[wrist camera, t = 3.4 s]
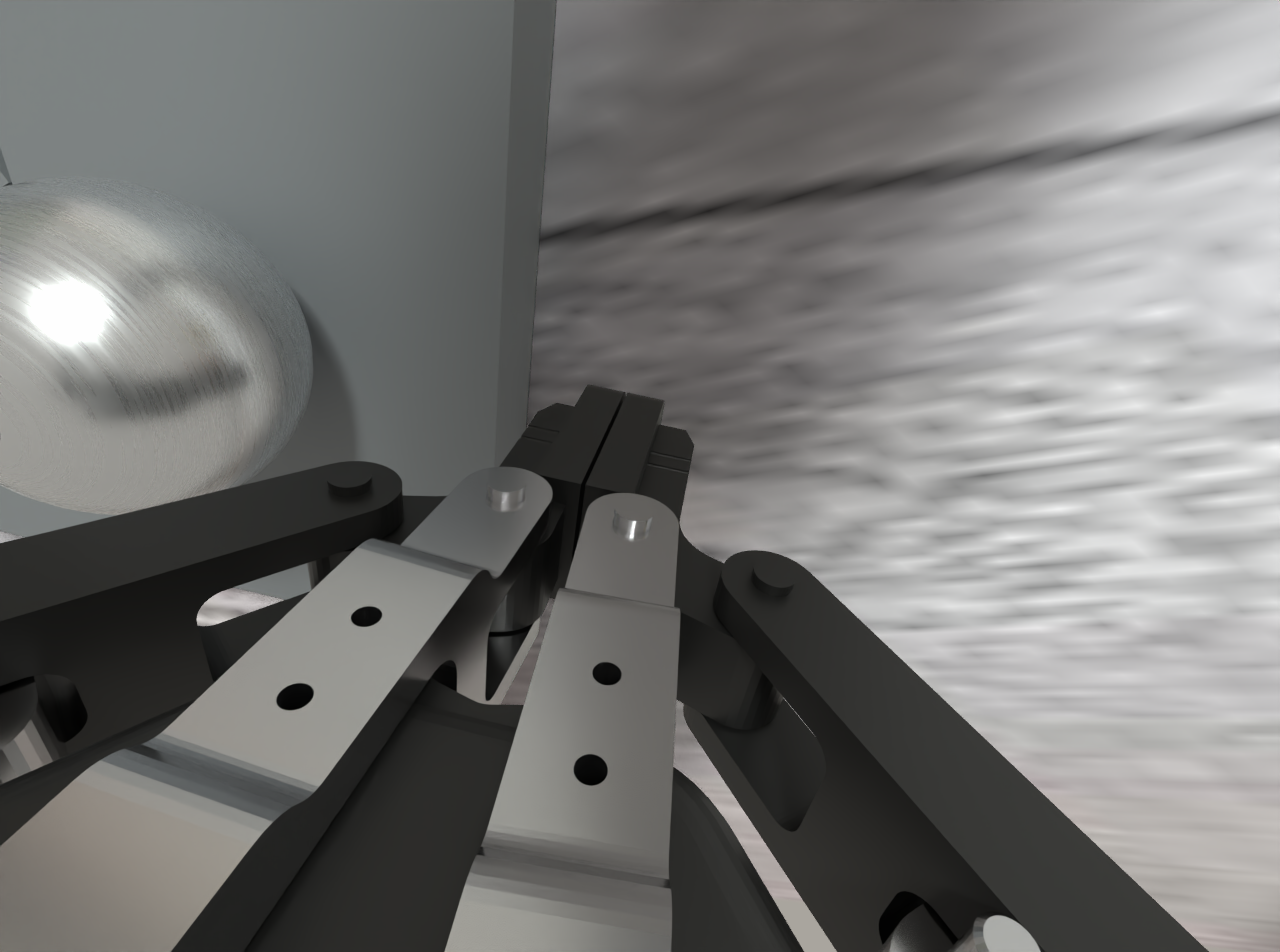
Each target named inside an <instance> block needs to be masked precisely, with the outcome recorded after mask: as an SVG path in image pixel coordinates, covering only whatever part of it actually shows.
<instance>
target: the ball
mask: <svg viewBox="0 0 1280 952" xmlns="http://www.w3.org/2000/svg"><path fill="white" fill-rule="evenodd" d="M312 380H313V355H312V345H311V340H310V334H309V330H308V327H307V324H306V321H305V318H304V315H303V313H302V310H301V308H300V306H299V303H298V301H297V300H296V298H295V296H294V294H293V292H292V290H291V289H290V287H289V285H288V284H287V283H286V281H285V280H284V278H283V277H282V275H281V274H280V272H279V271H278V270H277V269H276V267H275V266H274V265H273V264H272V263H271V261H270V260H269V259H268V258H267V257H266V256H265V255H264V254H263V253H262V252H261V251H260V250H259V249H258V248H257V247H256V246H255V245H254V244H253V243H252V242H250V241H249V240H248V239H247V238H246V237H245V236H243V235H242V234H241V233H240V232H238V231H237V230H236V229H234V228H233V227H231V226H230V225H228V224H227V223H226V222H224V221H223V220H221V219H220V218H218V217H217V216H215V215H213V214H211V213H210V212H208V211H206V210H204V209H202V208H200V207H199V206H196V205H194V204H192V203H190V202H188V201H186V200H183V199H181V198H178V197H176V196H173V195H171V194H169V193H166V192H163V191H159V190H156V189H152V188H148V187H145V186H141V185H137V184H134V183H130V182H125V181H117V180H110V179H101V178H92V177H62V178H42V179H37V180H32V181H27V182H22V183H18V184H13V185H8V186H4V187H1V188H0V485H1V486H3V487H5V488H7V489H9V490H11V491H14V492H16V493H18V494H20V495H23V496H25V497H28V498H31V499H34V500H37V501H40V502H44V503H47V504H51V505H54V506H57V507H61V508H65V509H70V510H76V511H82V512H89V513H96V514H107V515H121V514H125V513H129V512H133V511H137V510H141V509H145V508H150V507H154V506H158V505H162V504H166V503H170V502H175V501H179V500H183V499H187V498H191V497H195V496H199V495H204V494H208V493H212V492H216V491H220V490H224V489H229V488H233V487H237V486H240V485H242V484H243V483H245V482H246V481H248V480H249V479H251V478H253V477H254V476H256V475H257V474H258V473H260V472H261V471H262V470H263V469H264V468H265V467H266V466H267V465H269V464H270V463H271V462H272V461H273V460H274V459H275V458H276V457H277V456H278V455H279V454H280V453H281V451H282V450H283V449H284V447H285V446H286V445H287V443H288V442H289V441H290V439H291V438H292V436H293V435H294V433H295V432H296V430H297V428H298V426H299V424H300V422H301V419H302V417H303V415H304V413H305V410H306V408H307V404H308V400H309V396H310V392H311V387H312Z"/></svg>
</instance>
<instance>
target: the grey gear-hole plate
mask: <svg viewBox="0 0 1280 952" xmlns="http://www.w3.org/2000/svg"><path fill="white" fill-rule="evenodd" d="M555 12H556V0H0V188H1V187H4V186H8V185H13V184H18V183H22V182H27V181H32V180H37V179H42V178H62V177H92V178H101V179H110V180H117V181H125V182H130V183H134V184H137V185H141V186H145V187H148V188H152V189H156V190H159V191H163V192H166V193H169V194H171V195H173V196H176V197H178V198H181V199H183V200H186V201H188V202H190V203H192V204H194V205H196V206H199V207H200V208H202V209H204V210H206V211H208V212H210V213H211V214H213V215H215V216H217V217H218V218H220V219H221V220H223V221H224V222H226V223H227V224H228V225H230V226H231V227H233V228H234V229H236V230H237V231H238V232H240V233H241V234H242V235H243V236H245V237H246V238H247V239H248V240H249V241H250V242H252V243H253V244H254V245H255V246H256V247H257V248H258V249H259V250H260V251H261V252H262V253H263V254H264V255H265V256H266V257H267V258H268V259H269V260H270V261H271V263H272V264H273V265H274V266H275V267H276V269H277V270H278V271H279V272H280V274H281V275H282V277H283V278H284V280H285V281H286V283H287V284H288V285H289V287H290V289H291V290H292V292H293V294H294V296H295V298H296V300H297V301H298V303H299V306H300V308H301V310H302V313H303V315H304V318H305V321H306V324H307V327H308V330H309V334H310V340H311V345H312V355H313V380H312V387H311V392H310V396H309V400H308V404H307V408H306V410H305V413H304V415H303V417H302V419H301V422H300V424H299V426H298V428H297V430H296V432H295V433H294V435H293V436H292V438H291V439H290V441H289V442H288V443H287V445H286V446H285V447H284V449H283V450H282V451H281V453H280V454H279V455H278V456H277V457H276V458H275V459H274V460H273V461H272V462H271V463H270V464H269V465H267V466H266V467H265V468H264V469H263V470H262V471H261V472H260V473H258V474H257V475H256V476H254V477H253V478H251V479H249V480H248V481H246V482H245V483H243V484H242V485H245V484H249V483H254V482H258V481H262V480H266V479H270V478H274V477H278V476H283V475H287V474H291V473H295V472H299V471H303V470H308V469H312V468H316V467H320V466H324V465H328V464H333V463H338V462H346V461H366V462H372V463H377V464H381V465H383V466H386V467H388V468H390V469H392V470H393V471H395V472H396V473H397V474H398V475H399V477H400V478H401V481H402V491H403V495H406V496H448V495H449V494H450V493H451V492H452V491H453V490H454V488H455V487H456V486H457V485H458V484H459V483H460V482H461V481H462V480H463V479H464V478H465V477H467V476H468V475H470V474H471V473H473V472H476V471H478V470H481V469H485V468H491V467H499V466H500V465H501V463H502V462H503V460H504V459H505V458H506V456H507V455H508V453H509V452H510V451H511V449H512V448H513V446H514V445H515V444H516V442H517V441H518V439H519V438H521V435H522V434H523V433H524V431H525V430H526V421H527V407H528V393H529V379H530V365H531V351H532V337H533V323H534V309H535V295H536V280H537V266H538V252H539V238H540V224H541V210H542V196H543V182H544V168H545V153H546V139H547V125H548V111H549V97H550V83H551V69H552V55H553V41H554V26H555ZM240 486H241V485H240ZM112 516H116V515H107V514H96V513H89V512H82V511H76V510H70V509H65V508H61V507H57V506H54V505H51V504H47V503H44V502H40V501H37V500H34V499H31V498H28V497H25V496H23V495H20V494H18V493H16V492H14V491H11V490H9V489H7V488H5V487H3V486H1V485H0V531H1V532H6V533H10V534H14V535H18V536H22V537H29V536H33V535H37V534H42V533H46V532H50V531H54V530H58V529H62V528H66V527H71V526H75V525H79V524H83V523H87V522H91V521H96V520H100V519H104V518H108V517H112ZM234 588H238V589H242V590H246V591H250V592H255V593H259V594H263V595H267V596H271V597H275V598H280V599H284V600H287V599H290V598H293V597H295V596H298V595H301V594H304V593H307V592H309V591H311V585H310V579H309V572H308V565H307V563H306V564H303V565H300V566H297V567H294V568H291V569H288V570H285V571H281V572H278V573H275V574H272V575H269V576H266V577H263V578H260V579H257V580H254V581H251V582H248V583H245V584H242V585H239V586H236V587H234Z"/></svg>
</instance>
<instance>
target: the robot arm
mask: <svg viewBox="0 0 1280 952" xmlns="http://www.w3.org/2000/svg"><path fill="white" fill-rule="evenodd" d="M664 402H665V401H664V400H660V399H655V398H650V397H646V396H641V395H636V394H631V393H627V395H626V393H625V392H621V391H617V390H612V389H607V388H602V387H598V386H593V385H588V386H587V387H586V389H585V390H584V392H583V394H582V395H581V397H580V399H579V400H578V402H577V403H576V405H575V407H573V406H568V405H564V404H559V403H556V404H554V405H552V406H550V407H547V408H545V409H543V410H541V411H539V412H538V413H537V414H536V416H535V417H534V419H533V420H532V421H531V423H530V424H529V427H527V428H526V430H525V431H524V433H523V434H522V435H521V438H519V439H518V441H517V442H516V444H515V445H514V446H513V448H512V449H511V451H510V452H509V453H508V455H507V456H506V458H505V459H504V460H503V462H502V463H501V465H500V466H499V467H491V468H485V469H481V470H478V471H476V472H473V473H471V474H470V475H468V476H467V477H465V478H464V479H463V480H462V481H461V482H460V483H459V484H458V485H457V486H456V487H455V488H454V490H453V491H452V492H451V493H450V494H449V495H448V496H406V495H403V491H402V481H401V478H400V477H399V475H398V474H397V473H396V472H395V471H393V470H392V469H390V468H388V467H386V466H383V465H381V464H377V463H372V462H366V461H346V462H338V463H333V464H328V465H324V466H320V467H316V468H312V469H308V470H303V471H299V472H295V473H291V474H287V475H283V476H278V477H274V478H270V479H266V480H262V481H258V482H254V483H249V484H245V485H241V486H237V487H233V488H229V489H224V490H220V491H216V492H212V493H208V494H204V495H199V496H195V497H191V498H187V499H183V500H179V501H175V502H170V503H166V504H162V505H158V506H154V507H150V508H145V509H141V510H137V511H133V512H129V513H125V514H121V515H116V516H112V517H108V518H104V519H100V520H96V521H91V522H87V523H83V524H79V525H75V526H71V527H66V528H62V529H58V530H54V531H50V532H46V533H42V534H37V535H33V536H29V537H25V538H21V539H17V540H12V541H8V542H4V543H0V952H804V951H803V949H802V947H801V946H800V944H799V942H798V941H797V939H796V937H795V936H794V934H793V932H792V931H791V929H790V927H789V925H788V924H787V922H786V920H785V919H784V917H783V915H782V914H781V912H780V910H779V909H778V907H777V905H776V903H775V902H774V900H773V898H772V897H771V895H770V893H769V891H768V890H767V888H766V886H765V885H764V883H763V881H762V880H761V878H760V876H759V875H758V873H757V871H756V869H755V868H754V866H753V864H752V863H751V861H750V859H749V858H748V856H747V854H746V853H745V851H744V849H743V847H742V846H741V844H740V842H739V841H738V839H737V837H736V836H735V834H734V832H733V831H732V829H731V828H730V826H729V824H728V823H727V821H726V820H725V819H724V817H723V816H722V815H721V813H720V812H719V811H718V809H717V808H716V807H715V806H714V804H713V803H712V802H711V800H710V799H709V798H708V797H707V796H706V795H705V794H704V793H703V792H702V791H701V790H700V789H699V788H698V787H697V786H696V785H695V784H694V783H693V782H692V781H691V780H689V779H688V778H687V777H686V776H685V775H684V774H682V773H681V772H680V771H679V770H677V769H676V768H674V767H673V760H674V740H675V719H676V699H677V700H679V701H680V702H682V703H684V708H683V711H684V717H685V720H686V723H687V725H688V727H689V728H690V730H691V732H692V733H693V735H694V736H695V738H696V739H697V741H698V742H699V744H700V745H701V747H702V748H703V750H704V751H705V753H706V754H707V756H708V757H709V759H710V760H711V762H712V763H713V765H714V766H715V768H716V769H717V771H718V772H719V774H720V775H721V777H722V778H723V780H724V781H725V783H726V784H727V786H728V787H729V789H730V790H731V792H732V794H733V795H734V797H735V798H736V800H737V801H738V803H739V804H740V806H741V807H742V809H743V810H744V812H745V813H746V815H747V816H748V818H749V819H750V821H751V822H752V824H753V825H754V827H755V828H756V830H757V831H758V833H759V834H760V836H761V837H762V839H763V840H764V842H765V843H766V845H767V846H768V848H769V849H770V851H771V852H772V854H773V855H774V857H775V858H776V860H777V862H778V863H779V865H780V866H781V868H782V869H783V871H784V872H785V874H786V875H787V877H788V878H789V880H790V881H791V883H792V884H793V886H794V887H795V889H796V890H797V892H798V893H799V895H800V896H801V898H802V899H803V901H804V902H805V904H806V905H807V907H808V908H809V910H810V911H811V913H812V914H813V916H814V917H815V919H816V920H817V922H818V923H819V925H820V926H821V928H822V929H823V931H824V932H825V934H826V936H827V937H828V938H829V940H830V942H831V943H832V945H833V946H834V948H835V949H836V950H837V952H1209V951H1207V950H1206V949H1205V948H1204V947H1203V946H1202V945H1201V944H1200V943H1199V942H1198V941H1197V940H1196V939H1195V938H1194V937H1193V936H1192V935H1191V934H1190V933H1189V932H1187V931H1186V930H1185V929H1184V928H1183V927H1182V926H1181V925H1180V924H1179V923H1178V922H1177V921H1176V920H1175V919H1174V918H1173V917H1172V916H1171V915H1170V914H1169V913H1168V912H1166V911H1165V910H1164V909H1163V908H1162V907H1161V906H1160V905H1159V904H1158V903H1157V902H1156V901H1155V900H1154V899H1153V898H1152V897H1151V896H1150V895H1149V894H1148V893H1146V892H1145V891H1144V890H1143V889H1142V888H1141V887H1140V886H1139V885H1138V884H1137V883H1136V882H1135V881H1134V880H1133V879H1132V878H1131V877H1130V876H1129V875H1128V874H1126V873H1125V872H1124V871H1123V870H1122V869H1121V868H1120V867H1119V866H1118V865H1117V864H1116V863H1115V862H1114V861H1113V860H1112V859H1111V858H1110V857H1109V856H1108V855H1106V854H1105V853H1104V852H1103V851H1102V850H1101V849H1100V848H1099V847H1098V846H1097V845H1096V844H1095V843H1094V842H1093V841H1092V840H1091V839H1090V838H1089V837H1088V836H1087V835H1085V834H1084V833H1083V832H1082V831H1081V830H1080V829H1079V828H1078V827H1077V826H1076V825H1075V824H1074V823H1073V822H1072V821H1071V820H1070V819H1069V818H1068V817H1067V816H1065V815H1064V814H1063V813H1062V812H1061V811H1060V810H1059V809H1058V808H1057V807H1056V806H1055V805H1054V804H1053V803H1052V802H1051V801H1050V800H1049V799H1048V798H1047V797H1045V796H1044V795H1043V794H1042V793H1041V792H1040V791H1039V790H1038V789H1037V788H1036V787H1035V786H1034V785H1033V784H1032V783H1031V782H1030V781H1029V780H1028V779H1027V778H1025V777H1024V776H1023V775H1022V774H1021V773H1020V772H1019V771H1018V770H1017V769H1016V768H1015V767H1014V766H1013V765H1012V764H1011V763H1010V762H1009V761H1008V760H1007V759H1006V758H1004V757H1003V756H1002V755H1001V754H1000V753H999V752H998V751H997V750H996V749H995V748H994V747H993V746H992V745H991V744H990V743H989V742H988V741H987V740H986V739H984V738H983V737H982V736H981V735H980V734H979V733H978V732H977V731H976V730H975V729H974V728H973V727H972V726H971V725H970V724H969V723H968V722H967V721H966V720H964V719H963V718H962V717H961V716H960V715H959V714H958V713H957V712H956V711H955V710H954V709H953V708H952V707H951V706H950V705H949V704H948V703H947V702H946V701H944V700H943V699H942V698H941V697H940V696H939V695H938V694H937V693H936V692H935V691H934V690H933V689H932V688H931V687H930V686H929V685H928V684H927V683H926V682H925V681H923V680H922V679H921V678H920V677H919V676H918V675H917V674H916V673H915V672H914V671H913V670H912V669H911V668H910V667H909V666H908V665H907V664H906V663H905V662H903V661H902V660H901V659H900V658H899V657H898V656H897V655H896V654H895V653H894V652H893V651H892V650H891V649H890V648H889V647H888V646H887V645H886V644H885V643H883V642H882V641H881V640H880V639H879V638H878V637H877V636H876V635H875V634H874V633H873V632H872V631H871V630H870V629H869V628H868V627H867V626H866V625H865V624H863V623H862V622H861V621H860V620H859V619H858V618H857V617H856V616H855V615H854V614H853V613H852V612H851V611H850V610H849V609H848V608H847V607H846V606H845V605H844V604H842V603H841V602H840V601H839V600H838V599H837V598H836V597H835V596H834V595H833V594H832V593H831V592H830V591H829V590H828V589H827V588H826V587H825V586H824V585H822V584H821V583H820V582H819V581H818V580H817V579H816V578H815V577H814V576H813V575H812V574H811V573H810V572H809V571H808V570H806V569H805V568H804V567H803V566H801V565H800V564H798V563H797V562H795V561H793V560H791V559H789V558H787V557H784V556H782V555H779V554H775V553H772V552H766V551H757V550H755V551H744V552H740V553H737V554H735V555H733V556H731V557H730V558H728V559H727V560H726V562H725V563H722V562H720V561H718V560H715V559H713V558H711V557H709V556H707V555H705V554H704V553H702V552H701V551H699V550H698V549H696V548H695V547H694V546H693V545H691V543H690V542H689V541H688V540H687V539H686V538H685V536H684V535H683V533H682V531H681V528H680V515H681V510H682V505H683V500H684V495H685V489H686V484H687V479H688V474H689V469H690V464H691V459H692V454H693V449H694V444H693V442H692V440H691V439H690V437H689V435H688V433H687V432H686V430H682V429H677V428H672V427H668V426H663V425H661V420H662V415H663V409H664ZM306 563H307V565H308V572H309V579H310V585H311V591H309V592H307V593H304V594H301V595H298V596H295V597H293V598H290V599H287V600H284V601H281V602H278V603H276V604H273V605H270V606H267V607H264V608H262V609H259V610H256V611H253V612H250V613H247V614H245V615H242V616H239V617H236V618H233V619H231V620H228V621H225V622H222V623H219V624H216V625H212V626H197V621H196V618H197V614H198V611H199V609H200V608H201V606H202V605H203V604H204V603H205V602H206V601H207V600H208V599H209V598H211V597H212V596H214V595H215V594H217V593H219V592H221V591H224V590H227V589H230V588H233V587H236V586H239V585H242V584H245V583H248V582H251V581H254V580H257V579H260V578H263V577H266V576H269V575H272V574H275V573H278V572H281V571H285V570H288V569H291V568H294V567H297V566H300V565H303V564H306ZM549 598H553V599H555V602H554V605H553V608H552V612H551V615H550V619H549V622H548V625H547V629H546V632H545V635H544V639H543V642H542V646H541V649H540V652H539V656H538V659H537V663H536V666H535V669H534V673H533V676H532V679H531V683H530V686H529V690H528V693H527V696H526V700H525V703H524V705H500V704H501V702H502V700H503V699H504V697H505V695H506V693H507V691H508V689H509V687H510V686H511V684H512V682H513V680H514V678H515V676H516V674H517V672H518V671H519V669H520V667H521V665H522V663H523V661H524V659H525V657H526V656H527V654H528V652H529V650H530V648H531V646H532V644H533V642H534V641H535V639H536V637H537V635H538V632H539V627H540V618H541V615H542V613H543V612H544V610H545V607H546V605H547V603H548V600H549ZM783 697H784V698H785V699H784V698H783ZM785 700H786V701H787V702H788V703H789V704H788V703H787V702H786V701H785ZM790 706H791V707H792V708H793V709H794V710H793V709H792V708H791V707H790ZM794 711H795V712H796V713H797V714H798V715H799V716H798V715H797V714H796V713H795V712H794ZM799 717H800V718H801V719H802V720H803V721H804V722H803V721H802V720H801V719H800V718H799ZM804 723H805V724H806V725H807V726H808V727H807V726H806V725H805V724H804ZM809 729H810V730H811V731H812V732H813V733H812V732H811V731H810V730H809ZM813 734H814V735H815V736H816V737H815V736H814V735H813Z"/></svg>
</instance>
